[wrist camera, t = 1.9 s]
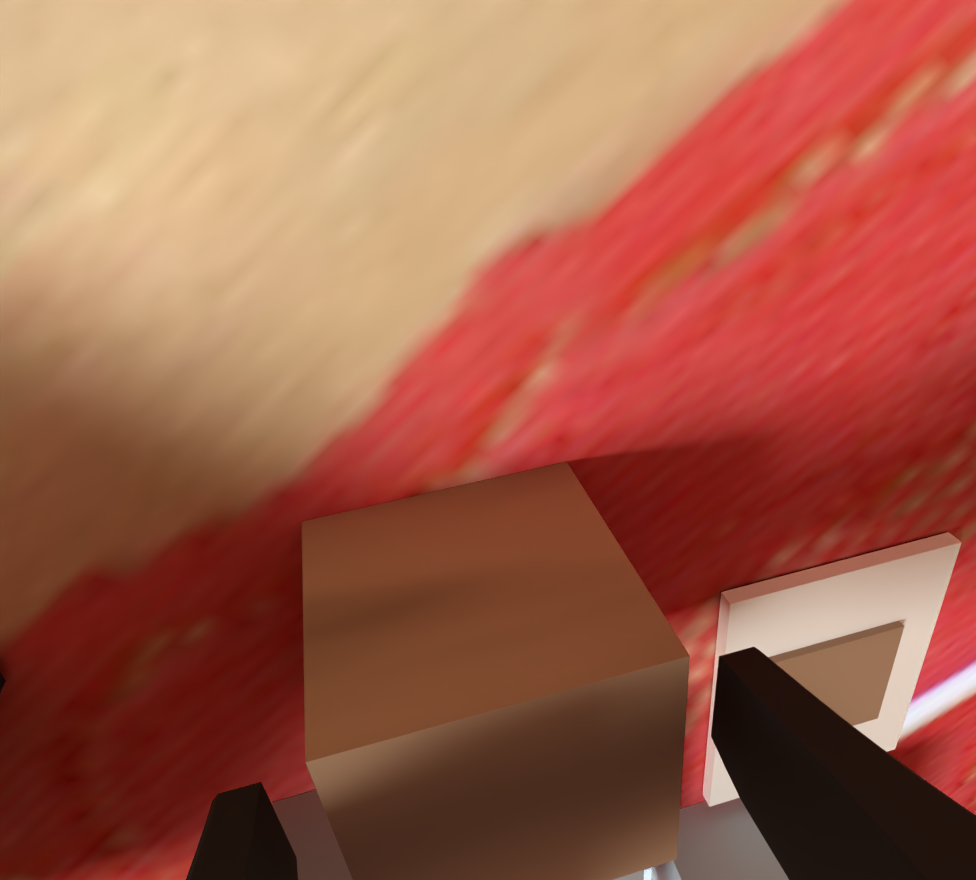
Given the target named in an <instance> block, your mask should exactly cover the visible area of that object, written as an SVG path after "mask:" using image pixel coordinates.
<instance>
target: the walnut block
mask: <svg viewBox="0 0 976 880" xmlns="http://www.w3.org/2000/svg"><path fill="white" fill-rule="evenodd" d="M302 575H303V642H304V709H305V763H306V765H307V768H308V770H309V773H310V775H311V778H312V780H313V783H314V785H315V788H316V790H317V793H318V795H319V798H320V800H321V803H322V805H323V807H324V810H325V812H326V815H327V817H328V820H329V822H330V825H331V827H332V830H333V832H334V835H335V837H336V840H337V842H338V845H339V847H340V849H341V852H342V854H343V857H344V859H345V862H346V864H347V867H348V869H349V872H350V874H351V877H352V879H353V880H613V879H617V878H620V877H623V876H626V875H629V874H632V873H635V872H638V871H641V870H645V869H648V868H651V867H654V866H657V865H660V864H663V863H666V862H669V861H672V860H676V859H677V845H678V830H679V814H680V798H681V783H682V767H683V752H684V736H685V720H686V705H687V689H688V674H689V658H690V656H689V654H688V653H687V651H686V649H685V648H684V646H683V645H682V643H681V641H680V640H679V638H678V637H677V635H676V634H675V632H674V630H673V629H672V627H671V626H670V624H669V623H668V621H667V619H666V618H665V616H664V615H663V613H662V611H661V610H660V608H659V607H658V605H657V604H656V602H655V600H654V599H653V597H652V596H651V594H650V593H649V591H648V589H647V588H646V586H645V585H644V583H643V582H642V580H641V578H640V577H639V575H638V574H637V572H636V570H635V569H634V567H633V566H632V564H631V563H630V561H629V559H628V558H627V556H626V555H625V553H624V552H623V550H622V548H621V547H620V545H619V544H618V542H617V540H616V539H615V537H614V536H613V534H612V533H611V531H610V529H609V528H608V526H607V525H606V523H605V522H604V520H603V518H602V517H601V515H600V514H599V512H598V510H597V509H596V507H595V506H594V504H593V503H592V501H591V499H590V498H589V496H588V495H587V493H586V492H585V490H584V488H583V487H582V485H581V484H580V482H579V480H578V479H577V477H576V476H575V474H574V473H573V471H572V469H571V468H570V466H569V465H568V463H567V462H562V463H557V464H553V465H549V466H544V467H540V468H535V469H531V470H527V471H522V472H518V473H513V474H509V475H505V476H500V477H496V478H491V479H487V480H483V481H478V482H474V483H469V484H465V485H461V486H456V487H452V488H447V489H443V490H439V491H434V492H430V493H425V494H421V495H417V496H412V497H408V498H403V499H399V500H395V501H390V502H386V503H381V504H377V505H373V506H368V507H364V508H359V509H355V510H351V511H346V512H342V513H337V514H333V515H329V516H324V517H320V518H315V519H311V520H307V521H302Z"/></svg>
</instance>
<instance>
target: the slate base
mask: <svg viewBox="0 0 976 880" xmlns="http://www.w3.org/2000/svg"><path fill="white" fill-rule="evenodd" d="M272 806H273V808H274V811H275V813H276V815H277V817H278V819H279V821H280V823H281V825H282V827H283V830H284V832H285V834H286V836H287V838H288V840H289V842H290V844H291V847H292V849H293V851H294V853H295V855H296V857H297V871H298V880H353V879H352V877H351V874H350V872H349V869H348V867H347V864H346V862H345V859H344V857H343V854H342V852H341V849H340V847H339V845H338V842H337V840H336V837H335V835H334V832H333V830H332V827H331V825H330V822H329V820H328V817H327V815H326V812H325V810H324V807H323V805H322V803H321V800H320V798H319V795H318V793H317V790H313V791H310V792H306V793H303V794H299V795H296V796H292V797H289V798H285V799H282V800H278V801H275V802H272ZM643 878H644V870H641V871H638V872H635V873H632V874H629V875H626V876H623V877H620V878H617V879H613V880H643Z"/></svg>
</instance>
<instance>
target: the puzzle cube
mask: <svg viewBox="0 0 976 880" xmlns="http://www.w3.org/2000/svg"><path fill="white" fill-rule="evenodd" d="M5 681H6V680H5V679H4V677H3V676H2V674H1V673H0V692H1V690H2V688H3V686H4V683H5Z"/></svg>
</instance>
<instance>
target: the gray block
mask: <svg viewBox="0 0 976 880" xmlns="http://www.w3.org/2000/svg"><path fill="white" fill-rule="evenodd" d="M651 880H789V879H788V877H787V875H786V874H785V872H784V870H783V869H782V867H781V866H780V864H779V862H778V861H777V859H776V857H775V856H774V854H773V852H772V851H771V849H770V848H769V846H768V844H767V843H766V841H765V839H764V838H763V836H762V834H761V833H760V831H759V829H758V828H757V826H756V824H755V823H754V821H753V819H752V818H751V816H750V814H749V813H748V811H747V809H746V808H745V806H744V804H743V803H742V801H741V799H740V798H736V799H733V800H730V801H727V802H724V803H720V804H717V805H714V806H711V807H709V805H708V803H707V801H704V802H700V803H697V804H694V805H691V806H688V807H684V808H681V809H680V814H679V830H678V845H677V859H676V860H672V861H669V862H666V863H663V864H660V865H657V866H654V867H652V876H651Z"/></svg>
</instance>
